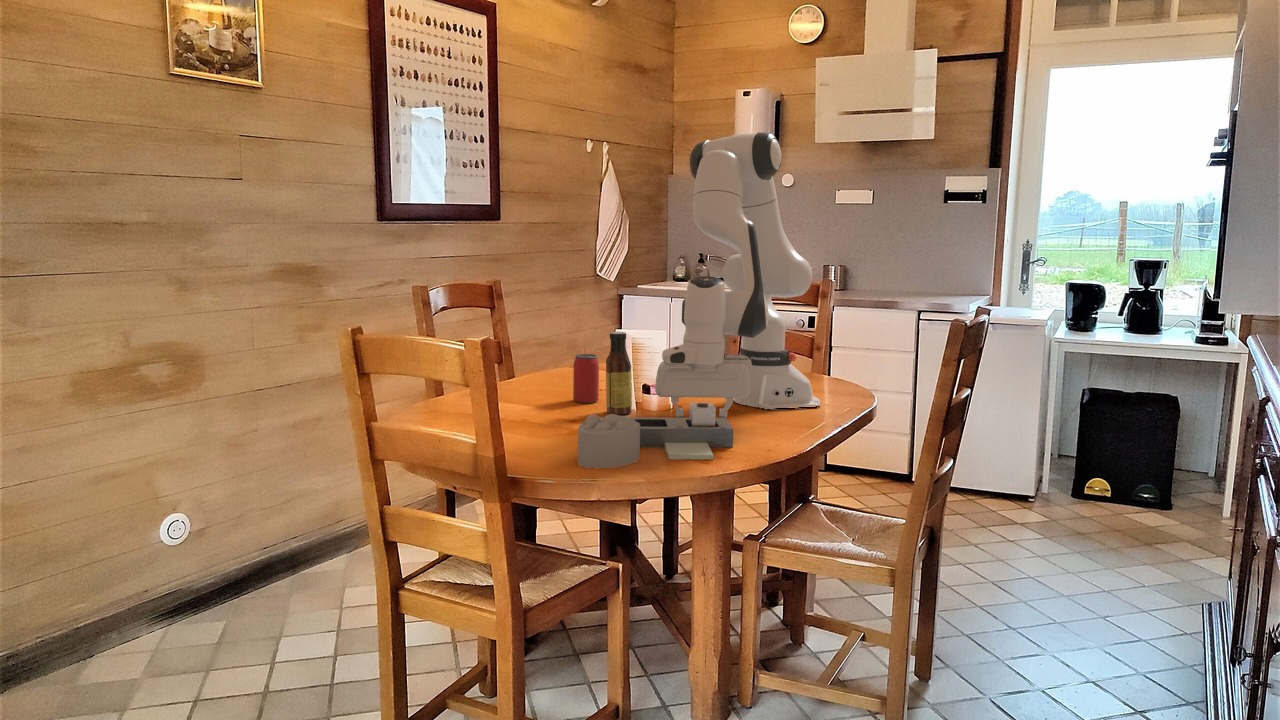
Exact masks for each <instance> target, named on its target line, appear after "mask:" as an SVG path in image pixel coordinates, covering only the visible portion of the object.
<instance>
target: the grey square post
mask: <svg viewBox="0 0 1280 720" xmlns="http://www.w3.org/2000/svg"><path fill="white" fill-rule="evenodd" d="M688 411H689V414H688V418H689V427H715V419H716V418H717V408H716V406H715V404H714V403H713V402H689V410H688Z"/></svg>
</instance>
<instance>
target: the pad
mask: <svg viewBox="0 0 1280 720" xmlns="http://www.w3.org/2000/svg"><path fill="white" fill-rule="evenodd" d="M663 448H664V451H665V452H666V456H667V459H668V460H714V453H713V451H712V450H711V447H709V445H708V444H707V443H665V446H664V447H663Z"/></svg>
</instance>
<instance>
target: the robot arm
mask: <svg viewBox="0 0 1280 720" xmlns="http://www.w3.org/2000/svg"><path fill="white" fill-rule="evenodd" d="M781 164H782V150H781V145H780V142H779V140H778V139H777V138H776V136H774V134H773V133H769V132H760V131H759V132H757V133H741V134H732V135H730V136H724V137H720V138H717V139H713V140H709V139H707V140H704V141H702V142H699V143H697V144H696V145H695V146H694V147H693V149H692V150H691V152H690V155H689V170H690V173H691V176H692V177H693V179H694V186H693V193H692V196H693V197H692V218H693V222H694V223H695V226H696V227H697V228H698V230H700V232H702V233H703V234H704V235H705V236H707V237H709V238H711V239H713V240H715V241H717V242H719V243H722V244H725V245H726V246H729V247H731V248H733V249H734V250H736V251H737V252H738V253H736V254H733V255H730V256H729V257H728V258H727V259H726V261H725V262H724V264H723V269H722V277H723V280H722V279H721V278H719V277H716V276H708V275H705V276H697V277H693V278H692V279H690V280H689V281H688V284H687V288H686V293H685V298H684V299H683V300H682V304H681V323H682V324H683V326H685V330H684V331H685V332H684V335H683V338H682V339H683V342H682V344H679V345H677V346H673V347H669V348H666V349H664V350H662V354H661V358H662V362H660V363H659V365H658V367H657V371H656V377H655V385H654V387H655V388H654V391H655V394H657V396H658V397H659V398H671V399H670V401H671V403H672V404H673V406H674V408H675V418H684V411H685V410H684V408H683V407H679V406H678V403H679V402H680V401H679V400H680V398H715V399H716V398H718V399H719V398H723V399H724V400H725V402H726V403H725V404H724V406H723V408H719V413H718V414H719V417H718V418H726V419H727V418H728V410H729V409H730V408H731V406H733V404H734V402H735V403H737V404H739V405H743V406H746V405H747V407H754V408H758V407H759V409H762V408H764V409H763V410H767V409H770V410H775V409H774V408H789V407H805V406H818V405H820V403H821V400H820V399H819V397H816V396H815V395H813V389H812V384H811V381H810V380H809V378H808V377H807V376H805V375H804V374H803V373H802V372H801V371H800V370H799V369H797V368H796V367H795V366H794V365H793V364H791V363H792V362H796V360H797V358H798V356H797V355H796V353H794V352H790V351H788V350H787V349H785V344H786V320H785V318H784V315H782V314H781V313H780V312H778V310H777V309H776V308H775V306H774V304H773V301H772V297H773V298H783V299H789V298H795V297H801V296H803V295H805V294H806V293H807V292H808V290H809V289H810V287H811V285H812V282H813V271H812V270H813V269H812V267H811V265H810V263H809V261H808V260H807V259H805V258H804V257H803V256H801V255H800V254H799V253H798V252H797V251H796V250H795V248H794V247H793V245H792V243H791V242H790V240H789V238H788V237H787V234H786V232H785V230H784V227H783V223H782V218H781V214H780V207H779V202H778V195H777V191H776V190H777V189H776V184H775V182H774V177H773V176H775V175H776V174H777V173H778V171H779V170H780V168H781ZM725 286H726V287H727V288H728V289H729V290H726V288H725ZM726 335H729V336H738V337H742V338H741V339H742V340H741V347H740V349H739V354H732V353H725V349H726V347H725V343H726V338H725V336H726ZM820 406H821V405H820Z"/></svg>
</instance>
